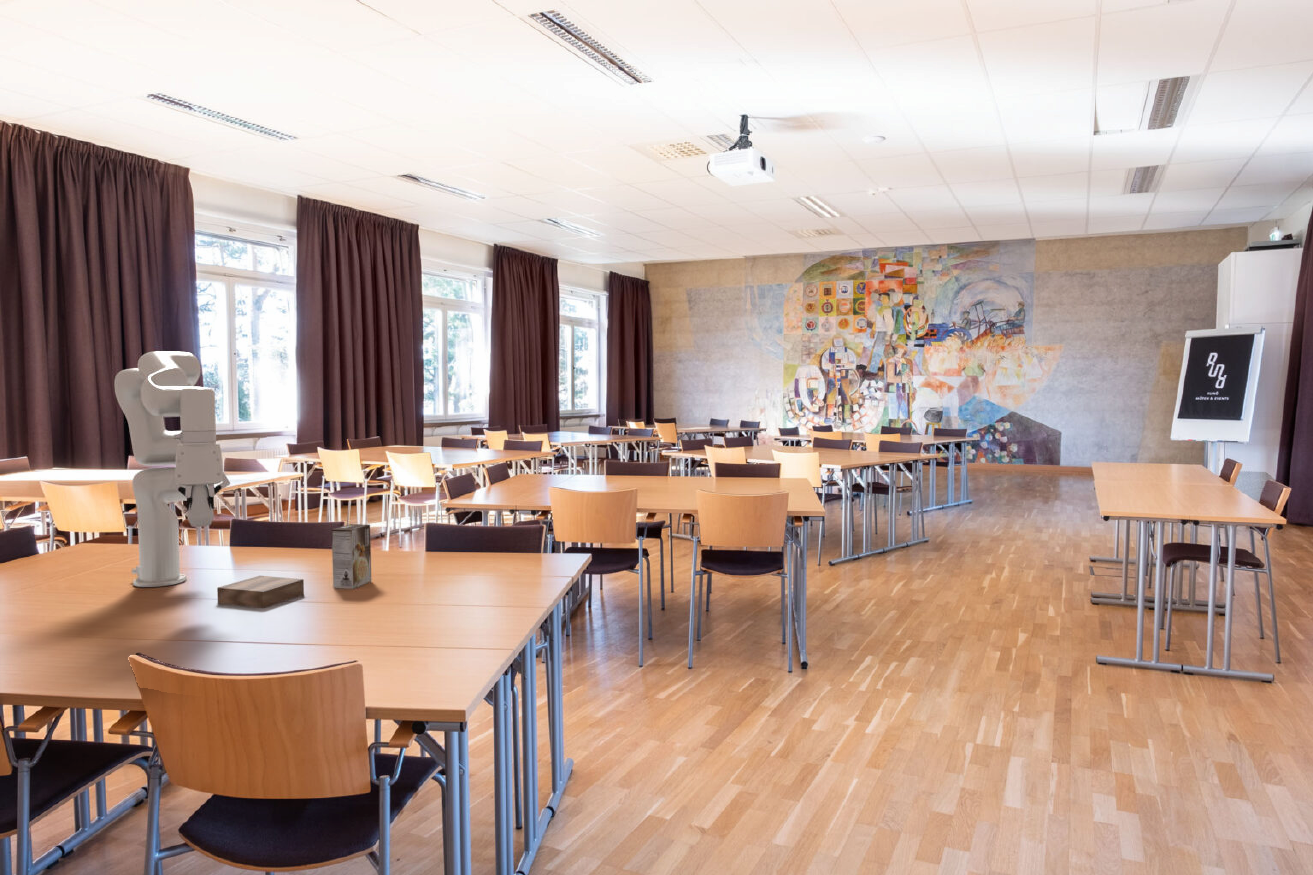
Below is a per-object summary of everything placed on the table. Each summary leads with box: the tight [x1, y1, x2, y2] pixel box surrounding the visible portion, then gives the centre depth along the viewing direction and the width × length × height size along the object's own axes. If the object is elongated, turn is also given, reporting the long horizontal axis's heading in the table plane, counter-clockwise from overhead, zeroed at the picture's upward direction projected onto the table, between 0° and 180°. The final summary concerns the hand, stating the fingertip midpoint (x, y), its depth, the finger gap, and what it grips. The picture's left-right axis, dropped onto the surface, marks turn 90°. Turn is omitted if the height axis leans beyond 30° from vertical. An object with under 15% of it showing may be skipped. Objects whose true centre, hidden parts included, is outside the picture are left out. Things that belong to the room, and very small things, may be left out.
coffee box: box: [331, 523, 373, 590], centre depth 226 cm, size 9×6×16 cm
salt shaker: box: [186, 485, 215, 528], centre depth 203 cm, size 6×6×13 cm
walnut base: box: [216, 575, 305, 609], centre depth 211 cm, size 14×14×4 cm
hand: (200, 512), depth 203 cm, fingers closed on salt shaker, 3 cm apart
